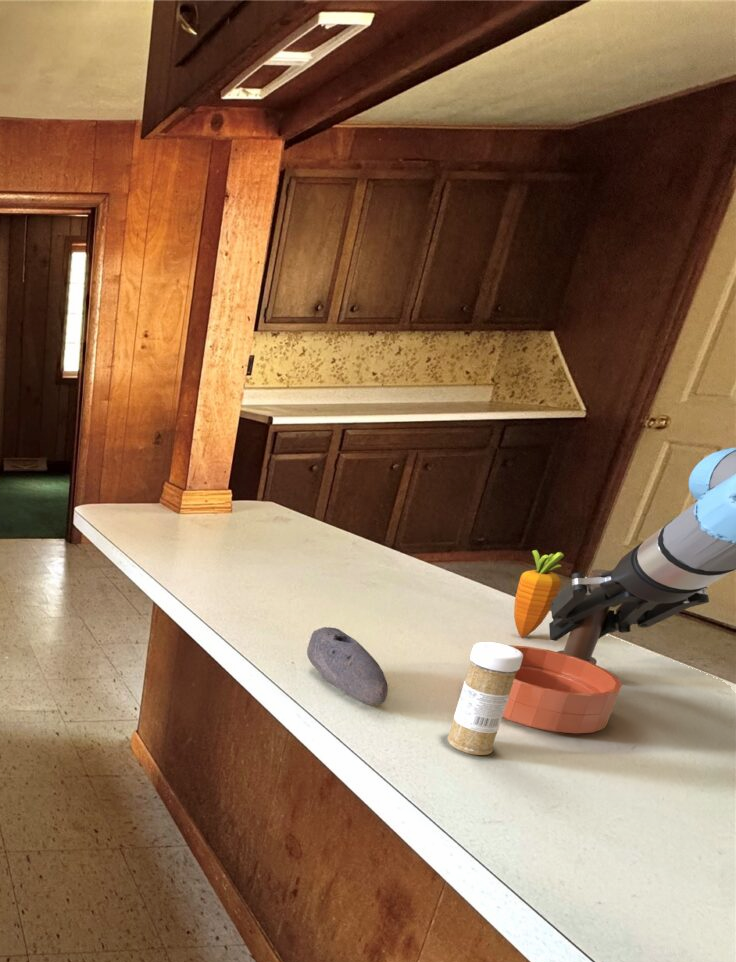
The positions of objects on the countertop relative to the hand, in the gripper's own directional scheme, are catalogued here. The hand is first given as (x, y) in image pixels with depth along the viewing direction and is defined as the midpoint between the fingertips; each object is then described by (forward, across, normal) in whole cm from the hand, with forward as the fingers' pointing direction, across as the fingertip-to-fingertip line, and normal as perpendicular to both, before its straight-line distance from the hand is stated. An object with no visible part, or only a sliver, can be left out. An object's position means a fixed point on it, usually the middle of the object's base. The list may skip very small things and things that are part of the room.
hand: (569, 633), depth 98 cm
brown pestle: (+1, 0, +6) cm, 6 cm away
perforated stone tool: (-10, +31, +17) cm, 36 cm away
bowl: (-8, +8, +15) cm, 19 cm away
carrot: (+11, +2, -3) cm, 11 cm away
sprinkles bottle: (-18, +19, +25) cm, 36 cm away
